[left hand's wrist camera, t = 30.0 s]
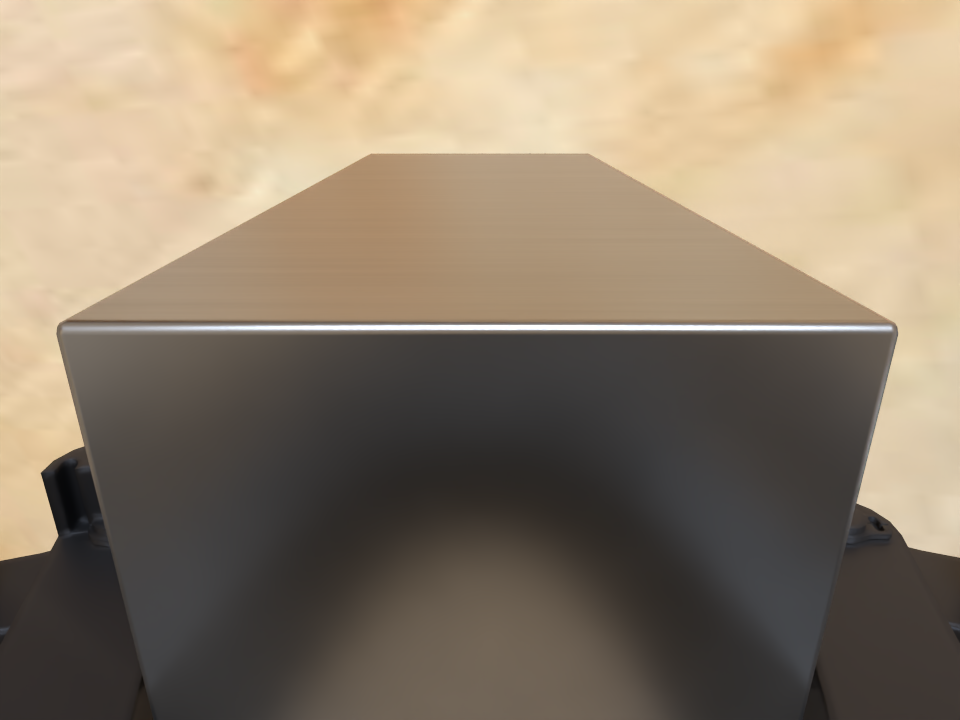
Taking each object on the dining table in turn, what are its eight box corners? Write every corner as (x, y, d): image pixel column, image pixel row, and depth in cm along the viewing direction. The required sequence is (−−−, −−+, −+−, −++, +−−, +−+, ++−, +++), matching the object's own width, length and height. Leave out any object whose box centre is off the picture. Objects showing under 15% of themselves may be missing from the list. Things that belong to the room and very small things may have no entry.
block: (368, 153, 15) (47, 323, 4) (591, 153, 15) (907, 325, 4) (388, 481, 18) (242, 1089, 7) (571, 481, 18) (713, 1088, 7)
